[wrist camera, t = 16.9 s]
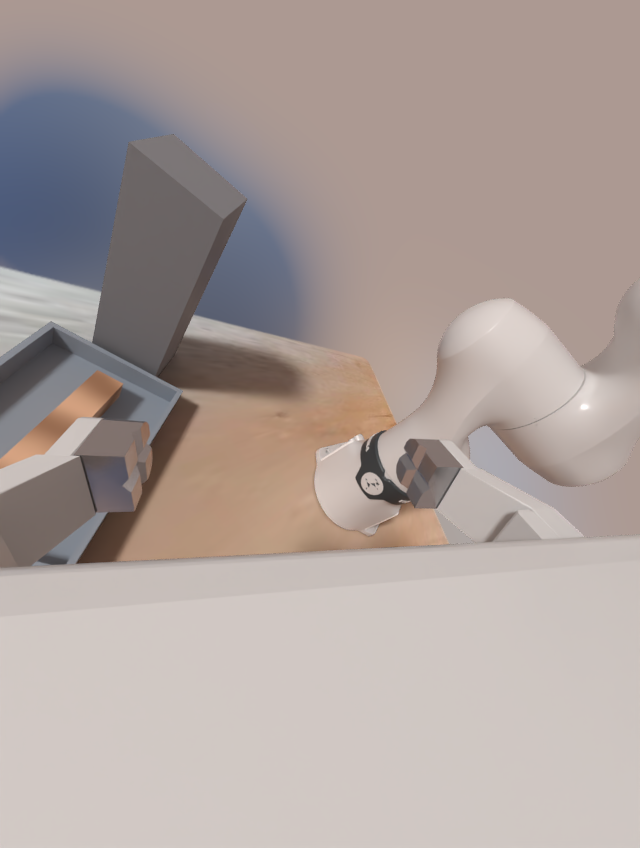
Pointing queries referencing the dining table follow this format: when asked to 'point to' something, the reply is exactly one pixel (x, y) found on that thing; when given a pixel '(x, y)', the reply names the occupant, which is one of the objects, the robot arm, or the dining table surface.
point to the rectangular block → (67, 416)
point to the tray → (55, 381)
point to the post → (162, 250)
